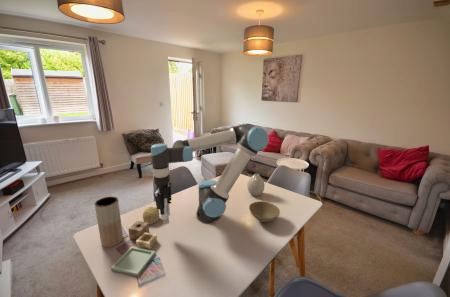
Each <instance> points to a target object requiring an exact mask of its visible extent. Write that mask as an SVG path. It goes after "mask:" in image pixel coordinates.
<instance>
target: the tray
mask: <svg viewBox="0 0 450 297" xmlns="http://www.w3.org/2000/svg"><path fill="white" fill-rule="evenodd" d="M155 255H156V251H155V250H152V249H150V250H147V249H143V248H138V247H136V246H133V245H131V246H130V247H128V249H127V250H126V251H125V252H124V253H123V255H121V257H119V258H118V260H117V261H116V262H114V264H112V266H111V267H110V269H111V271H113V272H118V273H121V274H126V275H129V276H133V277H139V276H140V275H141V273H142V272H143V270H144V269H145V268H146V267H147V265H148V264H149V263H150V262H151V261H152V259H153V258H154V256H155ZM145 266H146V267H145ZM144 267H145V268H144ZM138 275H139V276H138Z"/></svg>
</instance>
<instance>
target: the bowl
mask: <svg viewBox="0 0 450 297" xmlns="http://www.w3.org/2000/svg"><path fill="white" fill-rule="evenodd" d="M248 209H249V212H250V214H251V215H252V216H253V217H254V218H255V219H256V220H258V221H259V222H262V223H269V222H271V221H273V220H276V219H277V218H278V217H279V216H280V214H281V210H280V208H279V207H278V206H277V205H275V204H273V203H271V202H267V201H260V200H259V201H254V202H252V203H250V205H249V207H248Z"/></svg>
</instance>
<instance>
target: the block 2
mask: <svg viewBox="0 0 450 297" xmlns="http://www.w3.org/2000/svg"><path fill="white" fill-rule="evenodd" d="M157 242H158V236H157V234H156V233H151V232H149V233H147V232H144V233H143V234H142V235H141V236H140V237H139V238H138V239H137V240H135V245H136V246H135V247H138V248H143V249H147V250H152V248H153V247H154V246H155V245H156V243H157Z"/></svg>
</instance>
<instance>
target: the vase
mask: <svg viewBox="0 0 450 297" xmlns="http://www.w3.org/2000/svg"><path fill="white" fill-rule="evenodd" d="M246 185H247V190H248V193H249V194H250V195H251V196H252V195H253V196H252V197H255V196H257V197H260V196H261V195H262V194H263V193H264V191H265V182H264V178H263V177H261V175H260V173H254V174H253V175H251V177H250V178H249V179H248V181H247V184H246ZM259 195H260V196H259Z"/></svg>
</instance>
